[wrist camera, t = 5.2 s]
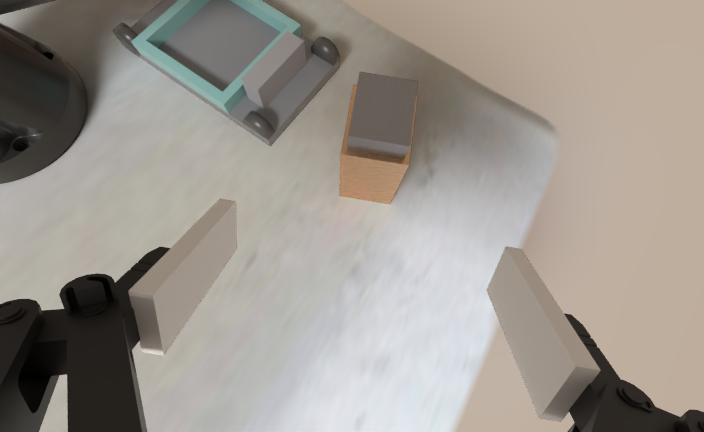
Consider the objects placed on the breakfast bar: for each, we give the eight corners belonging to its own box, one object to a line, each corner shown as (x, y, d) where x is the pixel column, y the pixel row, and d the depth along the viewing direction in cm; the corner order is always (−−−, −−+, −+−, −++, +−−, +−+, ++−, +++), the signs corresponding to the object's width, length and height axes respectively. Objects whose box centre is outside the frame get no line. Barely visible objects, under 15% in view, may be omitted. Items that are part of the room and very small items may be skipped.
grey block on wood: (339, 195, 33) (341, 140, 22) (349, 141, 35) (355, 66, 24) (389, 204, 33) (415, 152, 22) (397, 149, 35) (424, 77, 24)
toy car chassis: (339, 67, 37) (339, 37, 33) (270, 146, 34) (261, 123, 30) (201, -20, 39) (185, -58, 35) (125, 47, 36) (98, 14, 32)
